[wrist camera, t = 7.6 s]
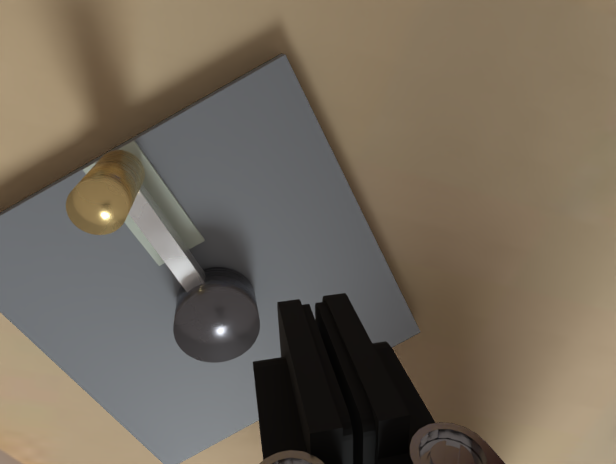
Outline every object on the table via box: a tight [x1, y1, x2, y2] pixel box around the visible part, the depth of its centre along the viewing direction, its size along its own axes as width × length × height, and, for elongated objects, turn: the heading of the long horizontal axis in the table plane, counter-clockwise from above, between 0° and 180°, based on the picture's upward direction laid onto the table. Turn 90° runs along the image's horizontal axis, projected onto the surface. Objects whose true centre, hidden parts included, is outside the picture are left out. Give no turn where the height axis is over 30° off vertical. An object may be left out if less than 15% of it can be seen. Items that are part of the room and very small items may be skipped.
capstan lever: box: [66, 150, 260, 363], centre depth 24 cm, size 14×5×6 cm, turn 25°
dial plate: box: [0, 54, 420, 464], centre depth 29 cm, size 22×22×2 cm
